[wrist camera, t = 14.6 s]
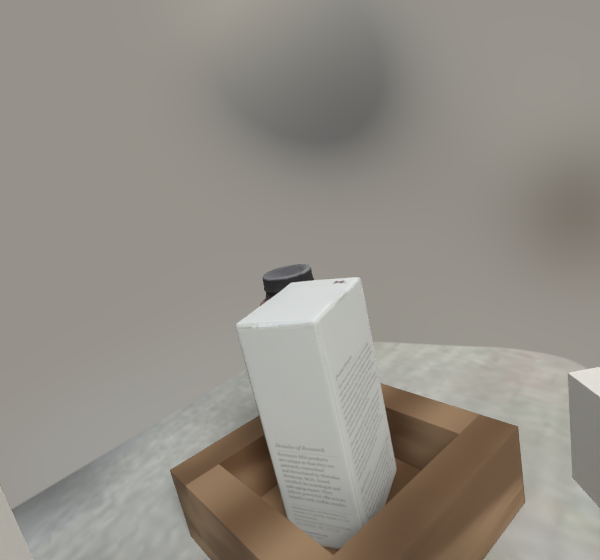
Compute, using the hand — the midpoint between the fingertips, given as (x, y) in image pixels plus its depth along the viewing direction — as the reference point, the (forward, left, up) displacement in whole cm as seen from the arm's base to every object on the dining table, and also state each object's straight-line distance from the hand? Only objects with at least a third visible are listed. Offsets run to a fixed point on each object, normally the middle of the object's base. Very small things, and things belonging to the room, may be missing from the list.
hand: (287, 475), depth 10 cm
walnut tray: (-8, +8, -12) cm, 17 cm away
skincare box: (-8, +8, -11) cm, 16 cm away
